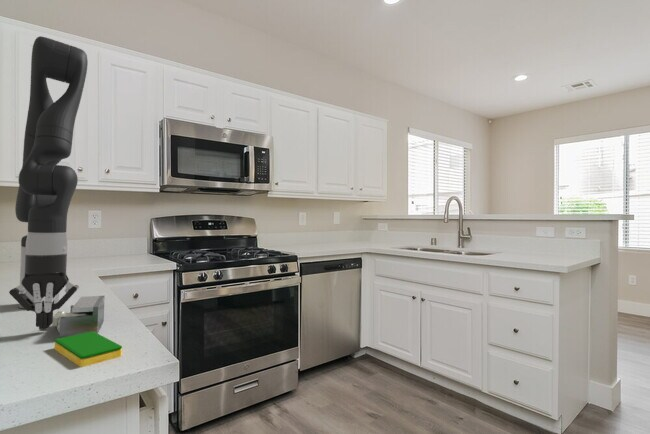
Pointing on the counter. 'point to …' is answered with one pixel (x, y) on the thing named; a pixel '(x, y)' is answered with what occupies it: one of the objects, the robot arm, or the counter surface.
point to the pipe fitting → (62, 314)
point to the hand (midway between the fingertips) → (44, 328)
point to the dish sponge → (88, 348)
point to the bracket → (84, 317)
